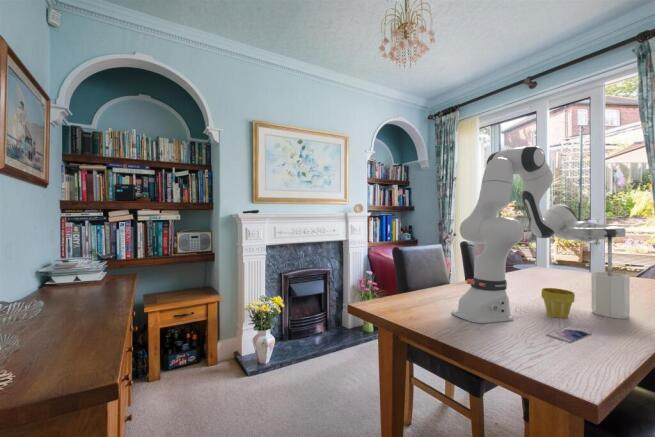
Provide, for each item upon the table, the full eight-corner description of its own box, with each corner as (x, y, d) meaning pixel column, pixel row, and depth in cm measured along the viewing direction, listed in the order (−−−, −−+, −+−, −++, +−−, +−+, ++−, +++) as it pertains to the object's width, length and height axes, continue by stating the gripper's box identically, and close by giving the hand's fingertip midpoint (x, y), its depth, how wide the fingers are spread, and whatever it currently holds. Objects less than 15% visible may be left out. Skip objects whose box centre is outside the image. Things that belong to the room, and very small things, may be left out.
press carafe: (620, 320, 111) (620, 277, 111) (586, 312, 121) (586, 273, 121) (637, 315, 117) (637, 274, 117) (604, 308, 126) (604, 270, 126)
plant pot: (581, 320, 111) (580, 294, 111) (549, 319, 113) (549, 293, 113) (564, 312, 121) (564, 288, 121) (536, 310, 123) (536, 287, 123)
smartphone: (593, 333, 99) (570, 342, 92) (593, 335, 99) (570, 344, 92) (567, 326, 105) (545, 333, 98) (567, 328, 105) (544, 336, 98)
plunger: (617, 287, 113) (617, 229, 113) (592, 283, 120) (592, 229, 120) (627, 285, 116) (627, 229, 116) (602, 281, 123) (602, 228, 123)
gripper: (559, 224, 132) (584, 225, 118) (607, 224, 131) (638, 225, 117) (559, 238, 132) (584, 241, 118) (607, 238, 131) (638, 241, 117)
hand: (611, 233), depth 117 cm, fingers closed on plunger, 4 cm apart
